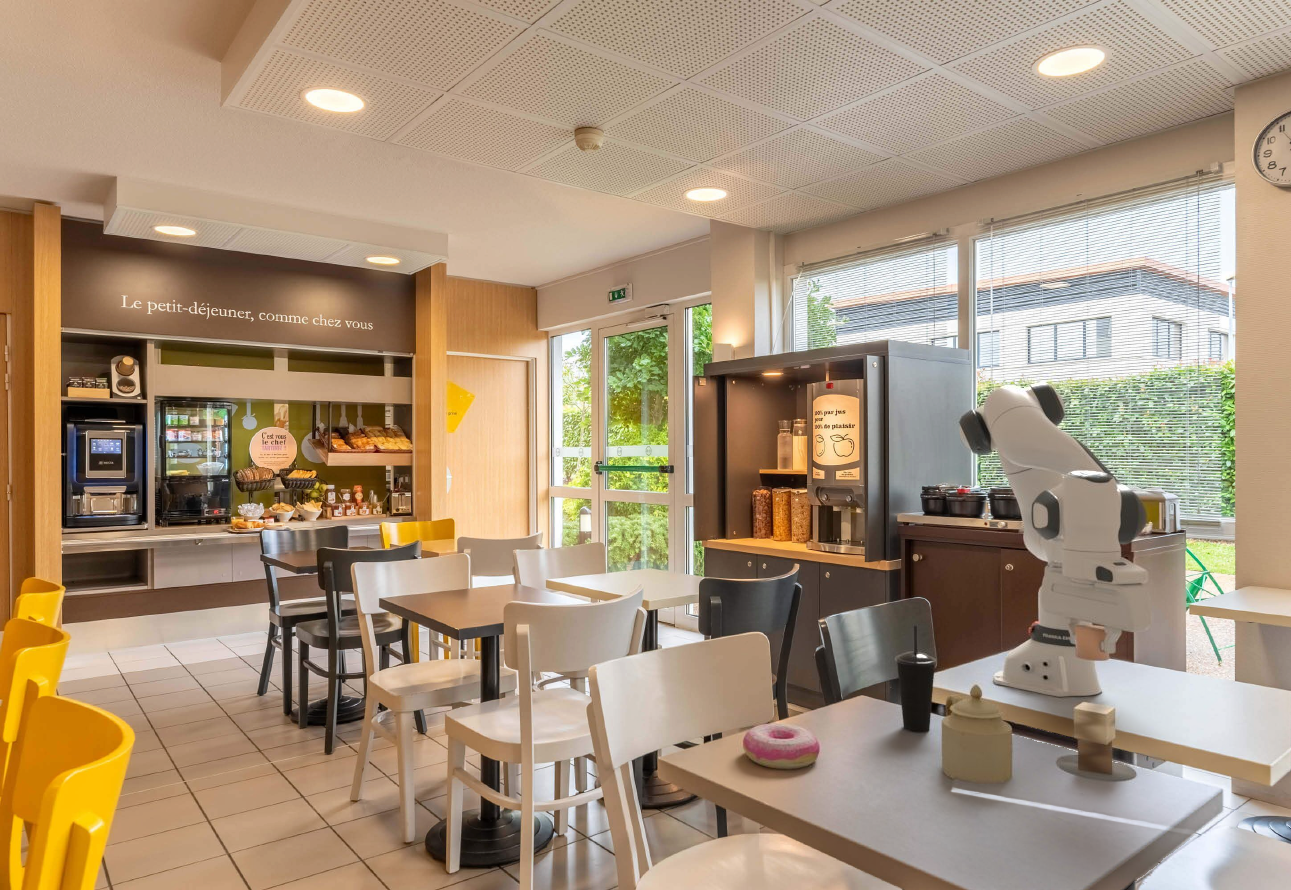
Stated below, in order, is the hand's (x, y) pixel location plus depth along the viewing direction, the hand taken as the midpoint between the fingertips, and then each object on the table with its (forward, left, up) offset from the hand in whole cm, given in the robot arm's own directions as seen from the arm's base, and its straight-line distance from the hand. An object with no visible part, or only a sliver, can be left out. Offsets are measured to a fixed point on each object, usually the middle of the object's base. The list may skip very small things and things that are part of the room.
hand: (1092, 648), depth 140 cm
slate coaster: (0, 0, -21) cm, 21 cm away
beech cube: (0, 0, -15) cm, 15 cm away
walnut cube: (0, 0, -20) cm, 20 cm away
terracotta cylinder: (0, 0, -2) cm, 2 cm away
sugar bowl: (-17, -13, -21) cm, 30 cm away
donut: (-44, -28, -21) cm, 56 cm away
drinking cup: (-32, +3, -21) cm, 38 cm away
